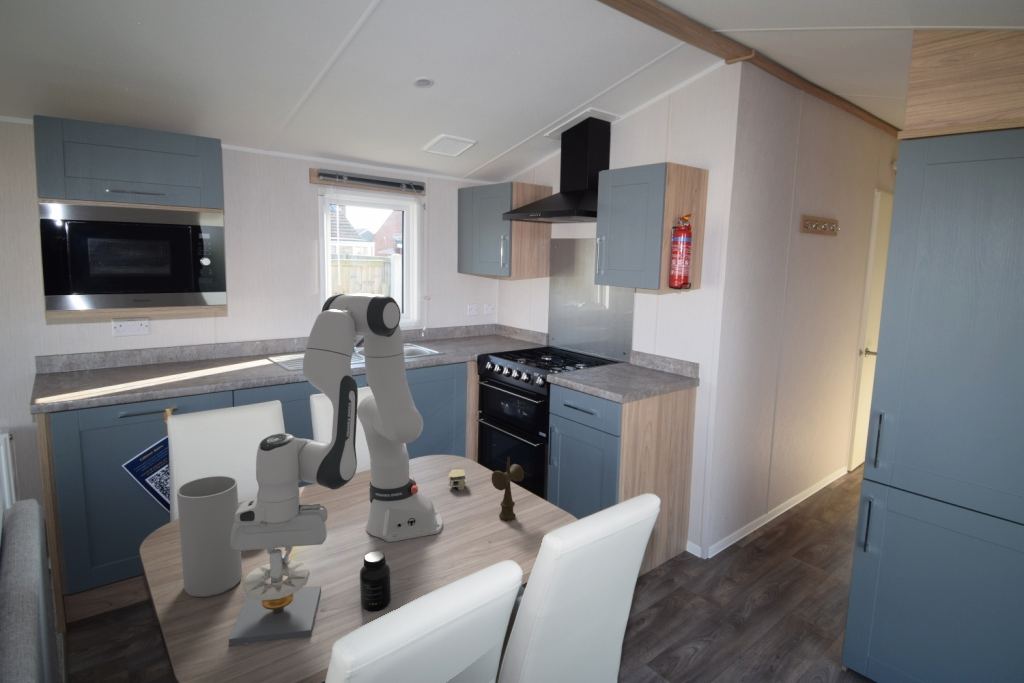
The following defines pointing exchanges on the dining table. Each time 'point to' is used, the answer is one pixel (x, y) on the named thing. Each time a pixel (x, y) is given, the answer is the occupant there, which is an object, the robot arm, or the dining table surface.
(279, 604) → the silver and orange rod
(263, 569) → the silicone ring
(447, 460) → the dining table surface
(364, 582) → the supplement bottle
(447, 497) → the dining table surface
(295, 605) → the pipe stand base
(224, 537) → the cylinder vase
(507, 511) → the kendama
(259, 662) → the dining table surface
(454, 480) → the beige blocky piece
